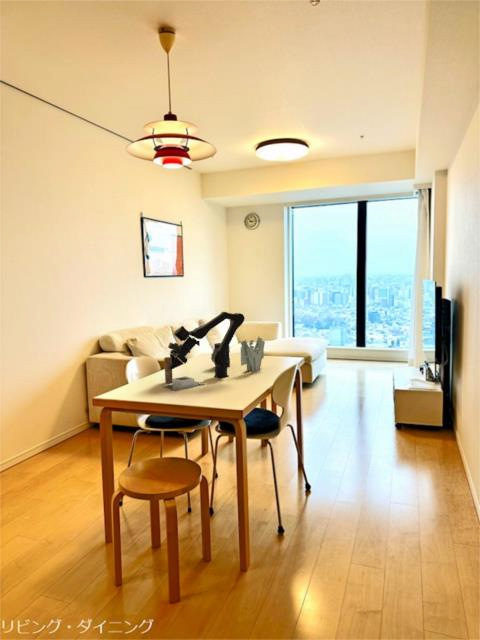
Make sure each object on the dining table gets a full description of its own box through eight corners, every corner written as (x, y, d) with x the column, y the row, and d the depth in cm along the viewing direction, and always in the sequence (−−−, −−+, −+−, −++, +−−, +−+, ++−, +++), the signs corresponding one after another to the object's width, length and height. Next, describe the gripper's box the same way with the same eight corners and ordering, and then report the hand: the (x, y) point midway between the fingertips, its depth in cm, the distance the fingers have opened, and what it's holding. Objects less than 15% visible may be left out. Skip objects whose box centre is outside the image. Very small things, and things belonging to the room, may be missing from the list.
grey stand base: (191, 381, 246) (190, 374, 246) (203, 384, 237) (203, 377, 236) (163, 387, 234) (162, 379, 234) (175, 391, 225) (174, 383, 225)
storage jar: (212, 368, 282) (211, 344, 281) (217, 365, 292) (217, 342, 290) (227, 368, 280) (226, 345, 278) (232, 365, 289) (231, 342, 288)
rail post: (171, 381, 247) (170, 356, 246) (173, 383, 244) (172, 357, 242) (164, 382, 246) (163, 357, 245) (166, 383, 242) (165, 358, 241)
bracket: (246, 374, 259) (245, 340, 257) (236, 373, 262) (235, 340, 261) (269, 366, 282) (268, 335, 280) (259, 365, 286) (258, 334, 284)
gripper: (172, 335, 253) (154, 356, 250) (180, 339, 236) (160, 361, 233) (186, 348, 257) (168, 368, 254) (195, 352, 239) (176, 374, 236)
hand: (168, 367), depth 244 cm, fingers open, 9 cm apart
